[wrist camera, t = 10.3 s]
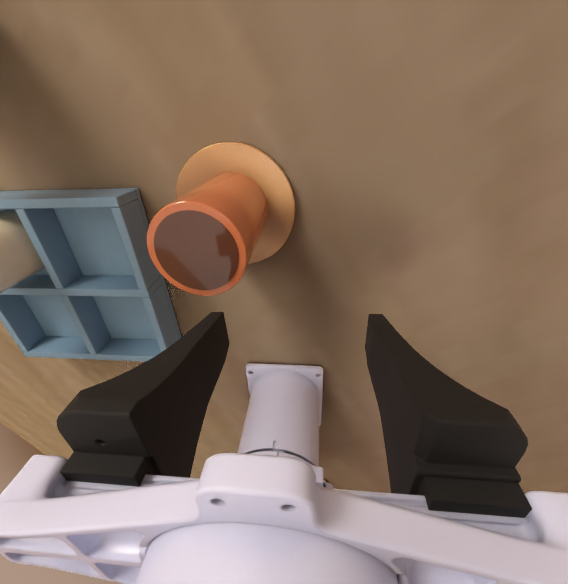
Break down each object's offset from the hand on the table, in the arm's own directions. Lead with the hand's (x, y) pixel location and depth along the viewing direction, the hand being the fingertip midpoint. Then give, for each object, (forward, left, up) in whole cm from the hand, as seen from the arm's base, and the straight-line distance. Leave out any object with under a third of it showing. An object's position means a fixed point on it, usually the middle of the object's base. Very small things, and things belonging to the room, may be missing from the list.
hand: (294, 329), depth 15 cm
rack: (-3, +20, -10) cm, 23 cm away
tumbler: (+3, +5, -10) cm, 12 cm away
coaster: (+3, +5, -10) cm, 12 cm away
